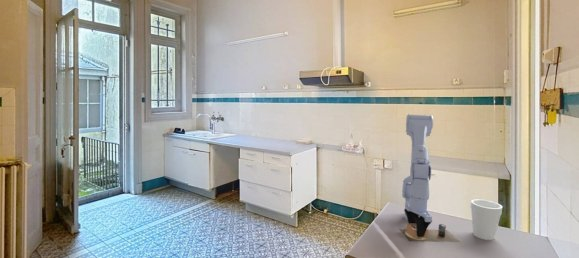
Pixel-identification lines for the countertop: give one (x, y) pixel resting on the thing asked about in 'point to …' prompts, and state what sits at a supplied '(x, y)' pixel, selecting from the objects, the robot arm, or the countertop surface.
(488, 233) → the foam cup
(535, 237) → the countertop surface
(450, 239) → the jig board
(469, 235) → the countertop surface
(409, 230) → the collar
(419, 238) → the hub
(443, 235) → the stand rod
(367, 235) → the countertop surface
